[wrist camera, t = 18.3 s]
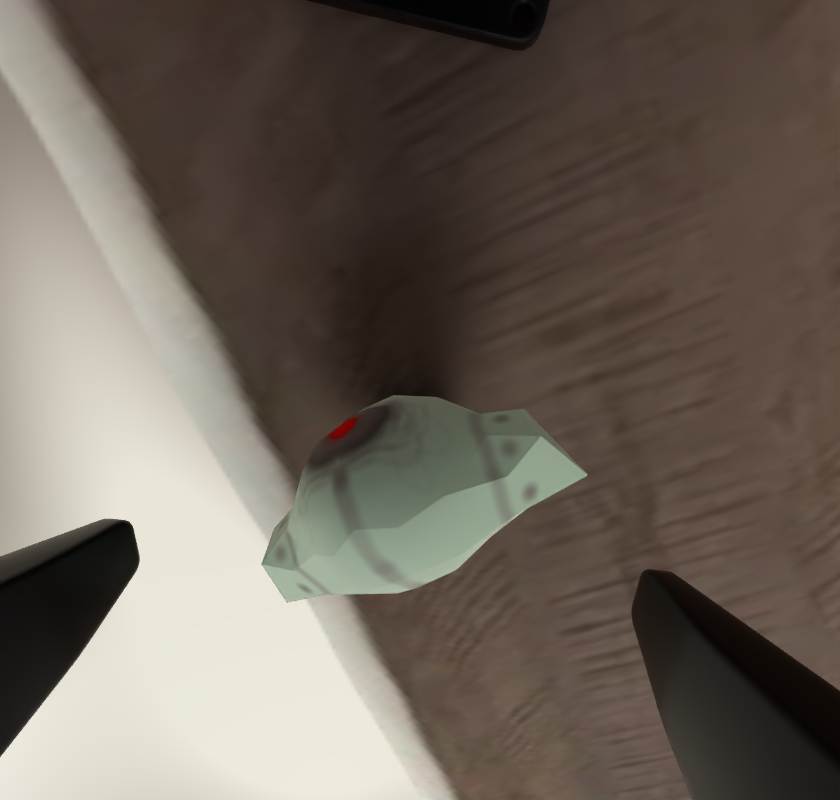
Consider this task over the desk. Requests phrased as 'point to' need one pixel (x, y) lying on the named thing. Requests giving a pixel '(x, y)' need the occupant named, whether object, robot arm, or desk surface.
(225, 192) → the desk surface
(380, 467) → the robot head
